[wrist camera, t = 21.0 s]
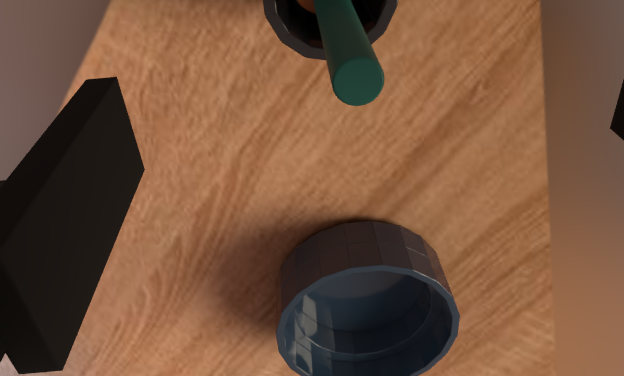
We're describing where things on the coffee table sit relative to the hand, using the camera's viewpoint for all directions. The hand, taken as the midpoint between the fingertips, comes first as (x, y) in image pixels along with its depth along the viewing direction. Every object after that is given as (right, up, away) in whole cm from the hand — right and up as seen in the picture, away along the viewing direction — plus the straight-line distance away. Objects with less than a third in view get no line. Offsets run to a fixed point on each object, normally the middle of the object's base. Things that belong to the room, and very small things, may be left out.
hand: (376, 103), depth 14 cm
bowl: (+3, -11, +34) cm, 35 cm away
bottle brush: (-1, +11, +18) cm, 21 cm away
